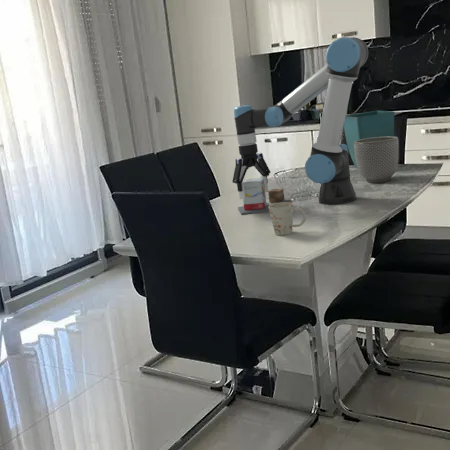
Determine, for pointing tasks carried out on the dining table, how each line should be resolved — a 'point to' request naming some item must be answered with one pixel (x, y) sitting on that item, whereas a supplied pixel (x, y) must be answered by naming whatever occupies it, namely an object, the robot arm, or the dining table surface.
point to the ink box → (254, 194)
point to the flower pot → (367, 127)
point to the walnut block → (276, 195)
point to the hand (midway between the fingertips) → (254, 195)
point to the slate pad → (253, 210)
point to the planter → (377, 158)
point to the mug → (284, 217)
